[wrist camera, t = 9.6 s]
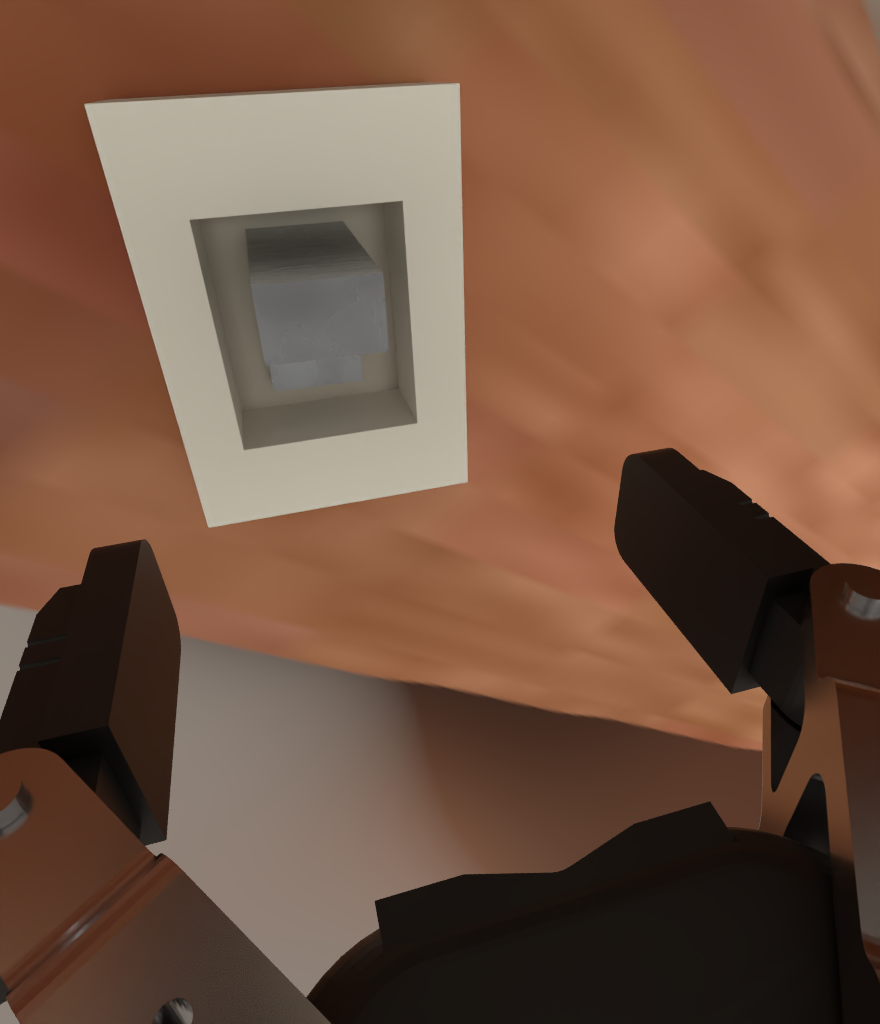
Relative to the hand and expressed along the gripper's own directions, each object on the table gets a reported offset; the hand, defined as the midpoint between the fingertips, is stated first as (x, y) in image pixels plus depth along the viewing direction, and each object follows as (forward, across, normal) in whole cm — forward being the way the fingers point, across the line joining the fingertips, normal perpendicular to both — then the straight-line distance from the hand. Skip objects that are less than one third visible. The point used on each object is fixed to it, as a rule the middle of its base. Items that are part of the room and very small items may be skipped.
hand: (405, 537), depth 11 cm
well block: (+21, 0, +2) cm, 22 cm away
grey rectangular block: (+21, 0, +2) cm, 21 cm away
